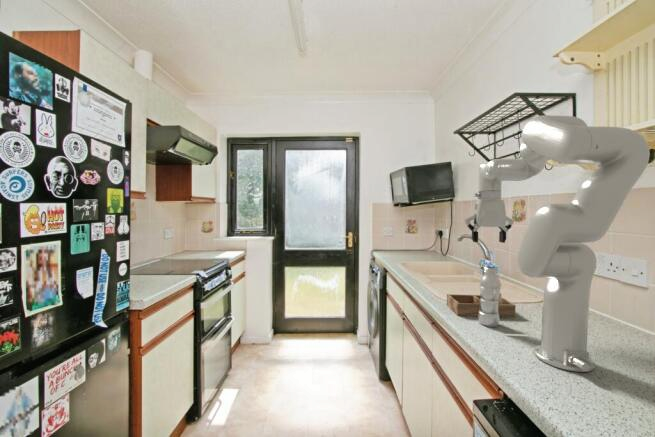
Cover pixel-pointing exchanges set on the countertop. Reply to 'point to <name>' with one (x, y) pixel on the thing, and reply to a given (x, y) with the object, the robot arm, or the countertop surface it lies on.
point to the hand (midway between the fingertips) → (488, 242)
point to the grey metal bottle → (489, 298)
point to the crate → (476, 305)
